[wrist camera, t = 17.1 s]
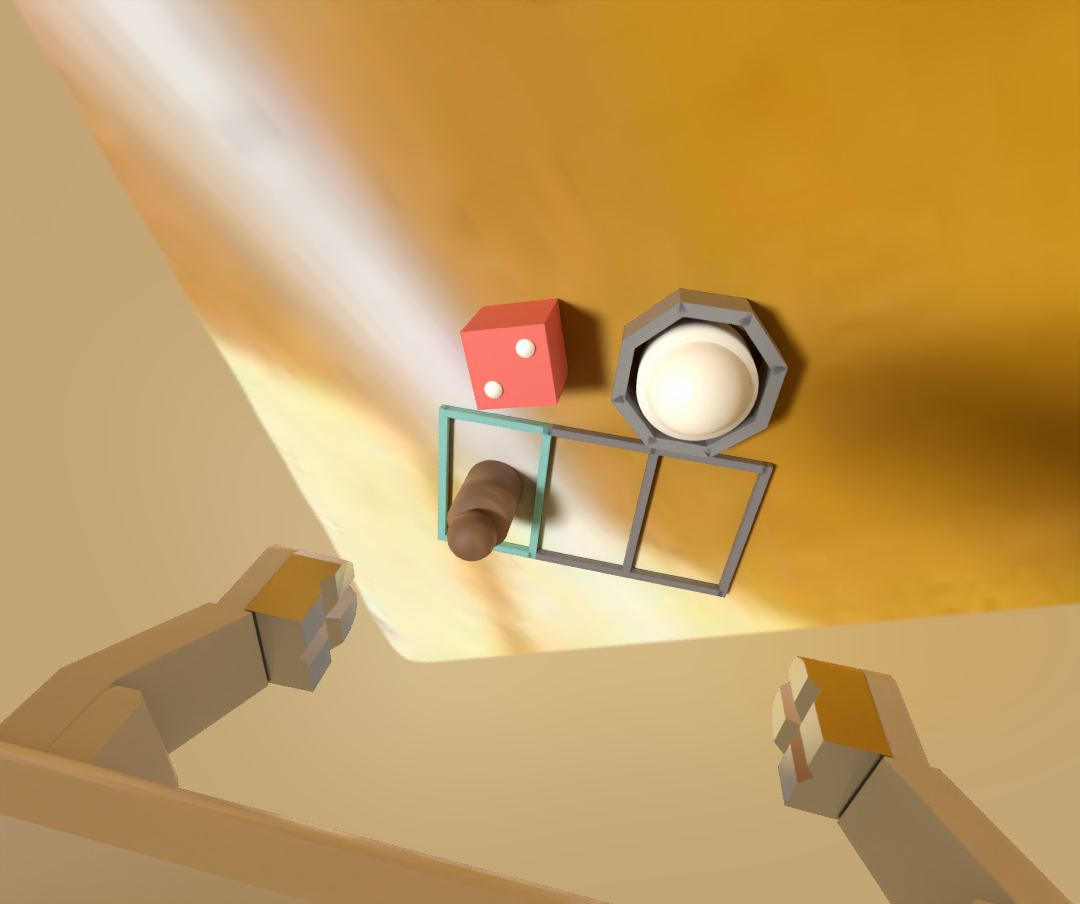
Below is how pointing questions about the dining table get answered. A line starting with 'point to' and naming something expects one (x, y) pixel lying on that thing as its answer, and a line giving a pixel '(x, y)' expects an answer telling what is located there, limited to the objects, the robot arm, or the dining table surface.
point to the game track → (637, 445)
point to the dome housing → (712, 310)
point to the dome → (696, 379)
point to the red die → (516, 354)
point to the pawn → (483, 510)
